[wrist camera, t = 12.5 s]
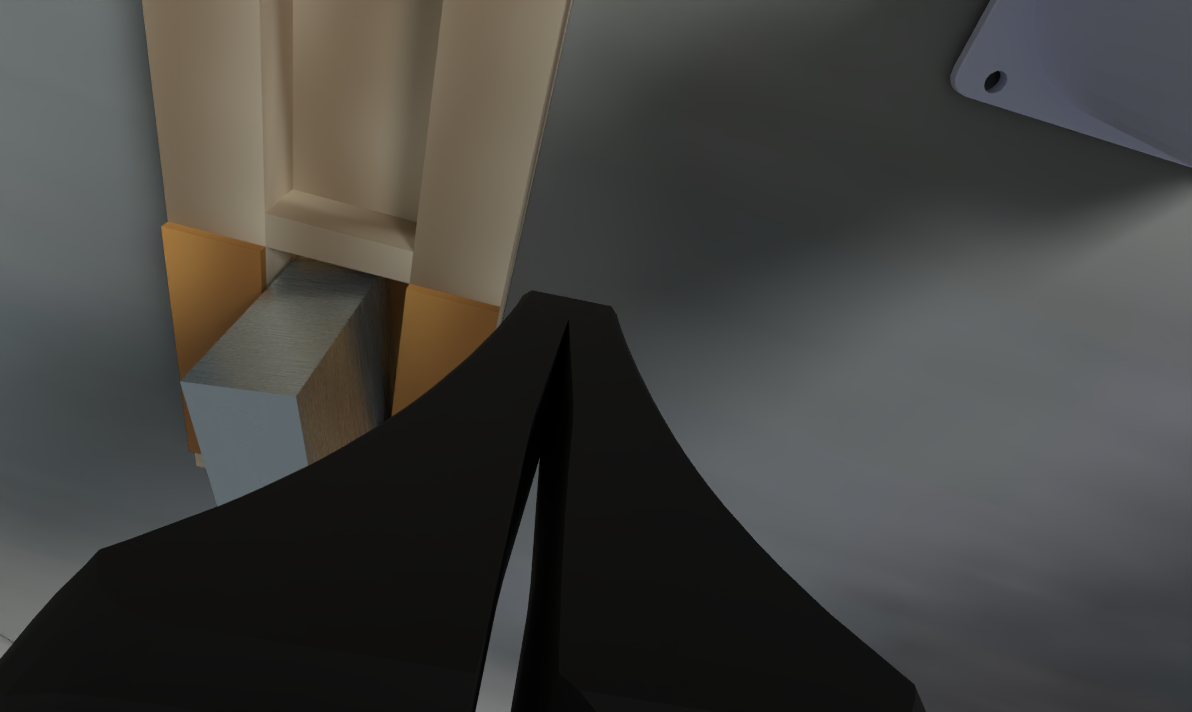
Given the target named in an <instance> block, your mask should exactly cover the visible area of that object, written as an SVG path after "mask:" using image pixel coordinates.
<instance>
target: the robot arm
mask: <svg viewBox="0 0 1192 712" xmlns="http://www.w3.org/2000/svg"><path fill="white" fill-rule="evenodd" d="M996 71H1000V79H999V82H998V83H997V84H996V85H995V86H994V87H992V88H990V89H988V90H985V87H984V84H985V80H986V78H987V77H988V76H989V75H990V74H991V73H993V72H996ZM950 79H951V85H952V87H953V89H954V90H955V91H957V92H958V93H960V94H962V95H963V96H965V97H968V98H971V99H974V100H978V101H981V102H984V103H987V104H990V105H994V106H997V107H1000V108H1003V109H1006V110H1009V111H1013V112H1016V113H1019V114H1022V115H1025V116H1029V117H1032V118H1035V119H1038V120H1041V121H1044V122H1048V123H1051V124H1054V125H1057V126H1060V127H1064V128H1067V129H1070V130H1073V131H1076V132H1079V133H1083V134H1086V135H1089V136H1092V137H1095V138H1099V139H1102V140H1105V141H1108V142H1111V143H1115V144H1118V145H1121V146H1124V147H1127V148H1130V149H1134V150H1137V151H1140V152H1143V153H1146V154H1150V155H1153V156H1156V157H1159V158H1162V159H1165V160H1169V161H1172V162H1175V163H1178V164H1181V165H1185V166H1188V167H1191V168H1192V0H990V1H989V3H988V5H987V7H986V9H985V11H984V12H983V14H982V16H981V18H980V20H979V22H978V23H977V25H976V27H975V29H974V31H973V32H972V34H971V36H970V38H969V40H968V42H967V43H966V45H965V47H964V49H963V51H962V53H961V54H960V56H959V58H958V60H957V62H956V63H955V65H954V67H953V70H952V73H951V75H950ZM539 458H540V462H539V475H538V489H537V502H536V516H535V530H534V544H533V558H532V572H531V585H530V594H529V602H528V611H527V618H526V624H525V630H524V636H523V642H522V648H521V654H520V660H519V666H518V672H517V678H516V684H515V690H514V695H513V701H512V707H511V712H926V711H925V708H924V706H923V704H922V701H921V699H920V697H919V694H918V692H917V690H916V687H915V685H914V684H913V683H912V682H911V681H910V680H908V679H907V678H906V677H905V676H904V675H902V674H901V673H900V672H899V671H898V670H896V669H895V668H894V667H893V666H892V665H890V664H889V663H888V662H887V661H886V660H884V659H883V658H882V657H881V656H880V655H878V654H877V653H876V652H875V651H874V650H873V649H871V648H870V647H869V646H868V645H867V644H865V643H864V642H863V641H862V640H861V639H859V638H858V637H857V636H856V635H855V634H853V633H852V632H851V631H850V630H849V629H847V628H846V627H845V626H844V625H843V624H841V623H840V622H839V621H838V620H837V619H835V618H834V617H833V616H832V615H831V614H830V613H829V612H828V611H826V610H825V609H824V608H823V607H822V606H821V605H820V604H819V603H818V602H817V601H816V600H815V599H814V598H813V597H811V596H810V595H809V594H808V593H807V592H806V591H805V590H804V589H803V588H802V587H801V586H800V585H799V584H798V583H797V582H796V581H795V580H794V579H793V578H792V577H791V576H789V575H788V574H787V573H786V572H785V571H784V570H783V569H782V568H781V567H780V566H779V565H778V564H777V563H776V562H775V561H774V560H773V559H772V558H771V556H770V555H769V554H768V553H767V552H766V551H765V550H764V549H763V548H762V547H761V546H760V545H759V544H758V543H757V542H756V541H755V540H754V539H753V537H752V536H751V535H750V534H749V533H748V532H747V531H746V530H745V528H744V527H743V526H742V525H741V524H740V523H739V522H738V521H737V519H736V518H735V517H734V516H733V515H732V514H731V513H730V512H729V510H728V509H727V508H726V507H725V506H724V505H723V503H722V502H721V501H720V500H719V498H718V497H717V496H716V495H715V494H714V492H713V491H712V490H711V489H710V487H709V486H708V485H707V483H706V482H705V481H704V479H703V478H702V477H701V475H700V474H699V473H698V471H697V470H696V468H695V467H694V466H693V464H692V463H691V461H690V460H689V458H688V457H687V456H686V454H685V453H684V451H683V450H682V448H681V446H680V445H679V443H678V442H677V440H676V439H675V437H674V435H673V434H672V432H671V430H670V429H669V427H668V425H667V424H666V422H665V420H664V419H663V417H662V415H661V413H660V412H659V410H658V408H657V406H656V404H655V402H654V401H653V399H652V397H651V395H650V393H649V391H648V389H647V387H646V385H645V383H644V381H643V379H642V377H641V375H640V373H639V371H638V369H637V366H636V364H635V362H634V360H633V358H632V355H631V353H630V350H629V348H628V346H627V343H626V341H625V338H624V336H623V333H622V330H621V327H620V324H619V321H618V318H617V314H616V313H615V311H614V310H613V308H612V307H611V306H607V305H602V304H597V303H592V302H587V301H582V300H577V299H572V298H567V297H562V296H557V295H552V294H547V293H542V292H538V291H533V290H532V291H530V292H528V293H526V294H525V295H523V297H522V298H521V300H520V301H519V303H518V304H517V305H516V307H515V308H514V309H513V310H512V312H511V313H510V314H509V315H508V316H507V318H506V319H505V320H504V321H503V322H502V323H501V324H500V325H499V327H498V328H497V329H496V330H495V331H494V332H493V333H492V334H491V335H490V336H489V337H488V338H487V339H486V340H485V341H484V342H483V343H482V344H481V345H480V346H479V347H478V348H477V349H476V350H475V351H474V352H473V353H472V354H471V355H470V356H469V357H467V358H466V359H465V360H464V361H463V362H462V363H461V364H459V365H458V366H457V367H456V368H455V369H454V370H452V371H451V372H450V373H449V374H448V375H446V376H445V377H444V378H443V379H442V380H440V381H439V382H438V383H437V384H436V385H435V386H433V387H432V388H431V389H430V390H428V391H427V392H426V393H424V394H423V395H422V396H420V397H419V398H418V399H416V400H415V401H414V402H412V403H411V404H409V405H408V406H407V407H405V408H404V409H402V410H401V411H399V412H398V413H396V414H395V415H393V416H392V417H390V418H389V419H387V420H386V421H385V422H383V423H381V424H380V425H378V426H377V427H375V428H373V429H372V430H370V431H368V432H367V433H365V434H363V435H362V436H360V437H358V438H357V439H355V440H353V441H352V442H350V443H348V444H347V445H345V446H343V447H342V448H340V449H338V450H336V451H334V452H333V453H331V454H329V455H327V456H325V457H324V458H322V459H320V460H318V461H316V462H314V463H312V464H310V465H308V466H306V467H304V468H302V469H300V470H298V471H296V472H294V473H292V474H289V475H287V476H285V477H283V478H281V479H279V480H277V481H275V482H273V483H270V484H268V485H266V486H264V487H262V488H260V489H257V490H255V491H253V492H251V493H248V494H246V495H244V496H242V497H239V498H237V499H234V500H232V501H230V502H227V503H225V504H222V505H220V506H217V507H215V508H213V509H210V510H207V511H204V512H202V513H199V514H196V515H194V516H191V517H188V518H186V519H183V520H180V521H178V522H175V523H172V524H169V525H167V526H164V527H161V528H159V529H156V530H153V531H151V532H148V533H145V534H143V535H140V536H137V537H134V538H132V539H129V540H126V541H123V542H120V543H117V544H114V545H112V546H109V547H106V548H103V549H100V550H99V551H98V552H97V553H96V554H95V555H94V556H93V557H92V558H91V559H90V560H89V561H88V562H87V564H86V565H85V566H84V567H83V568H82V569H81V570H80V571H79V572H77V573H76V574H75V575H74V576H73V577H72V578H71V579H70V580H69V581H68V582H67V583H66V584H65V585H64V586H63V587H62V588H61V589H60V590H59V591H58V592H57V593H56V594H55V595H54V596H53V597H52V599H51V600H50V601H49V602H48V603H47V604H46V605H45V606H44V607H43V609H42V610H41V611H40V612H39V613H38V614H37V615H36V616H35V618H34V619H33V620H32V621H31V622H30V623H29V625H28V626H27V627H26V628H25V629H24V631H23V632H22V633H21V634H20V635H19V637H18V638H17V639H16V640H15V641H14V643H13V644H12V645H11V646H10V647H9V649H8V650H7V651H6V652H5V654H4V655H3V656H2V657H1V658H0V712H475V711H476V706H477V701H478V696H479V691H480V686H481V681H482V676H483V671H484V666H485V661H486V656H487V651H488V646H489V641H490V636H491V631H492V626H493V621H494V616H495V611H496V607H497V603H498V599H499V595H500V591H501V587H502V583H503V579H504V576H505V572H506V569H507V566H508V562H509V559H510V555H511V552H512V549H513V545H514V542H515V539H516V535H517V532H518V529H519V525H520V522H521V519H522V515H523V512H524V509H525V505H526V502H527V498H528V495H529V492H530V488H531V485H532V482H533V478H534V475H535V472H536V468H537V465H538V461H539Z"/></svg>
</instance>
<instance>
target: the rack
mask: <svg viewBox="0 0 1192 712" xmlns="http://www.w3.org/2000/svg"><path fill="white" fill-rule="evenodd" d="M572 1H573V0H142V6H143V14H144V23H145V31H146V40H147V48H148V57H149V65H150V74H151V82H152V91H153V100H154V108H155V117H156V125H157V134H158V142H159V151H160V159H161V168H162V176H163V185H164V193H165V202H166V210H167V219H168V222H167V223H165V224H164V225H162V226H161V229H162V237H163V246H164V254H165V262H166V270H167V278H168V286H169V294H170V302H171V310H172V318H173V326H174V334H175V342H176V350H177V358H178V366H179V375H180V381H181V380H182V379H183V377H184V376H185V375H186V374H187V373H188V372H189V371H190V370H191V369H192V368H193V367H194V366H195V365H196V364H197V363H198V362H199V360H200V359H201V358H202V357H203V356H204V355H205V354H206V353H207V352H208V351H209V350H210V349H211V348H212V347H213V346H214V345H215V343H216V342H217V341H218V340H219V339H220V338H221V337H222V336H223V335H224V334H225V333H226V332H227V331H228V330H229V329H230V328H231V326H232V325H233V324H234V323H235V322H236V321H237V320H238V319H239V318H240V317H241V316H242V315H243V314H244V313H245V312H246V311H247V309H248V308H249V307H250V306H251V305H252V304H253V303H254V302H255V301H256V300H257V299H258V298H259V297H260V296H261V295H262V294H263V292H264V291H265V290H266V289H267V288H268V287H269V286H270V285H271V284H272V283H273V282H274V281H275V280H276V279H277V278H278V277H279V275H280V274H281V273H282V272H283V271H284V270H285V269H286V268H287V267H288V266H289V265H290V264H291V263H292V262H293V261H294V260H295V258H296V257H297V256H298V255H300V256H304V257H308V258H312V259H315V260H319V261H323V262H327V263H331V264H335V265H339V266H343V267H347V268H351V269H354V270H358V271H362V272H366V273H370V274H374V275H378V276H382V277H386V278H390V284H391V301H392V317H393V334H394V350H395V366H396V382H395V391H394V399H393V408H392V416H393V415H395V414H396V413H398V412H399V411H401V410H402V409H404V408H405V407H407V406H408V405H409V404H411V403H412V402H414V401H415V400H416V399H418V398H419V397H420V396H422V395H423V394H424V393H426V392H427V391H428V390H430V389H431V388H432V387H433V386H435V385H436V384H437V383H438V382H439V381H440V380H442V379H443V378H444V377H445V376H446V375H448V374H449V373H450V372H451V371H452V370H454V369H455V368H456V367H457V366H458V365H459V364H461V363H462V362H463V361H464V360H465V359H466V358H467V357H469V356H470V355H471V354H472V353H473V352H474V351H475V350H476V349H477V348H478V347H479V346H480V345H481V344H482V343H483V342H484V341H485V340H486V339H487V338H488V337H489V336H490V335H491V334H492V333H493V332H494V331H495V330H496V329H497V328H498V327H499V325H500V324H501V323H502V319H503V314H504V309H505V305H506V300H507V296H508V291H509V287H510V282H511V278H512V273H513V269H514V264H515V260H516V255H517V251H518V246H519V242H520V237H521V232H522V228H523V223H524V219H525V214H526V210H527V205H528V201H529V196H530V192H531V187H532V183H533V178H534V174H535V169H536V164H537V160H538V155H539V151H540V146H541V142H542V137H543V133H544V128H545V124H546V119H547V115H548V110H549V106H550V101H551V96H552V92H553V87H554V83H555V78H556V74H557V69H558V65H559V60H560V56H561V51H562V47H563V42H564V38H565V33H566V28H567V24H568V19H569V15H570V10H571V6H572ZM181 391H182V399H183V407H184V415H185V423H186V431H187V439H188V447H189V452H193V453H195V458H196V466H199V467H203V468H206V467H205V464H204V460H203V457H202V454H201V450H200V447H199V444H198V440H197V437H196V433H195V430H194V427H193V423H192V420H191V417H190V413H189V410H188V407H187V403H186V400H185V397H184V393H183V390H182V387H181ZM392 416H391V417H392Z"/></svg>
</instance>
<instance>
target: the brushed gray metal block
mask: <svg viewBox="0 0 1192 712" xmlns="http://www.w3.org/2000/svg"><path fill="white" fill-rule="evenodd" d="M395 382H396V366H395V350H394V334H393V317H392V301H391V284H390V278H386V277H382V276H378V275H374V274H370V273H366V272H362V271H358V270H354V269H351V268H347V267H343V266H339V265H335V264H331V263H327V262H323V261H319V260H315V259H312V258H308V257H304V256H300V255H298V256H297V257H296V258H295V260H294V261H293V262H292V263H291V264H290V265H289V266H288V267H287V268H286V269H285V270H284V271H283V272H282V273H281V274H280V275H279V277H278V278H277V279H276V280H275V281H274V282H273V283H272V284H271V285H270V286H269V287H268V288H267V289H266V290H265V291H264V292H263V294H262V295H261V296H260V297H259V298H258V299H257V300H256V301H255V302H254V303H253V304H252V305H251V306H250V307H249V308H248V309H247V311H246V312H245V313H244V314H243V315H242V316H241V317H240V318H239V319H238V320H237V321H236V322H235V323H234V324H233V325H232V326H231V328H230V329H229V330H228V331H227V332H226V333H225V334H224V335H223V336H222V337H221V338H220V339H219V340H218V341H217V342H216V343H215V345H214V346H213V347H212V348H211V349H210V350H209V351H208V352H207V353H206V354H205V355H204V356H203V357H202V358H201V359H200V360H199V362H198V363H197V364H196V365H195V366H194V367H193V368H192V369H191V370H190V371H189V372H188V373H187V374H186V375H185V376H184V377H183V379H182V380H181V381H180V383H181V387H182V390H183V393H184V397H185V400H186V403H187V407H188V410H189V413H190V417H191V420H192V423H193V427H194V430H195V433H196V437H197V440H198V444H199V447H200V450H201V454H202V457H203V460H204V464H205V467H206V470H207V474H208V477H209V480H210V484H211V487H212V490H213V494H214V497H215V500H216V504H217V506H220V505H222V504H225V503H227V502H230V501H232V500H234V499H237V498H239V497H242V496H244V495H246V494H248V493H251V492H253V491H255V490H257V489H260V488H262V487H264V486H266V485H268V484H270V483H273V482H275V481H277V480H279V479H281V478H283V477H285V476H287V475H289V474H292V473H294V472H296V471H298V470H300V469H302V468H304V467H306V466H308V465H310V464H312V463H314V462H316V461H318V460H320V459H322V458H324V457H325V456H327V455H329V454H331V453H333V452H334V451H336V450H338V449H340V448H342V447H343V446H345V445H347V444H348V443H350V442H352V441H353V440H355V439H357V438H358V437H360V436H362V435H363V434H365V433H367V432H368V431H370V430H372V429H373V428H375V427H377V426H378V425H380V424H381V423H383V422H385V421H386V420H387V419H389V418H390V417H391V416H392V408H393V399H394V391H395Z"/></svg>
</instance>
